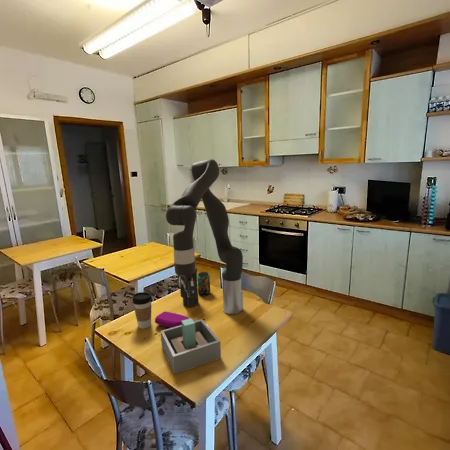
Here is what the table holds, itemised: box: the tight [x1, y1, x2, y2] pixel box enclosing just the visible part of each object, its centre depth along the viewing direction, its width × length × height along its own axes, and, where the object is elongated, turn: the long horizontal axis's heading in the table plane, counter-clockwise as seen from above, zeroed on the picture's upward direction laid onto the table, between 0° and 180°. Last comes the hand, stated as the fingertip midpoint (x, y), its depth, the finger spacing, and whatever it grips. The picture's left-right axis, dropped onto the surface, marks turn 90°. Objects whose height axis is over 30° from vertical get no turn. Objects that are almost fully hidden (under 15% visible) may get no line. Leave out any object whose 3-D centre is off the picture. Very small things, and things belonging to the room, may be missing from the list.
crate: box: [160, 318, 222, 375], centre depth 109 cm, size 18×18×7 cm
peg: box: [182, 317, 196, 349], centre depth 108 cm, size 4×4×12 cm
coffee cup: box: [132, 291, 152, 329], centre depth 128 cm, size 8×8×15 cm
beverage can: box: [197, 271, 211, 296], centre depth 160 cm, size 7×7×12 cm
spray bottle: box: [154, 311, 210, 328], centre depth 128 cm, size 3×11×24 cm
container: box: [182, 267, 200, 308], centre depth 147 cm, size 9×9×20 cm
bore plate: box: [170, 331, 208, 354], centre depth 109 cm, size 12×12×3 cm
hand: (187, 301), depth 105 cm, fingers open, 8 cm apart
